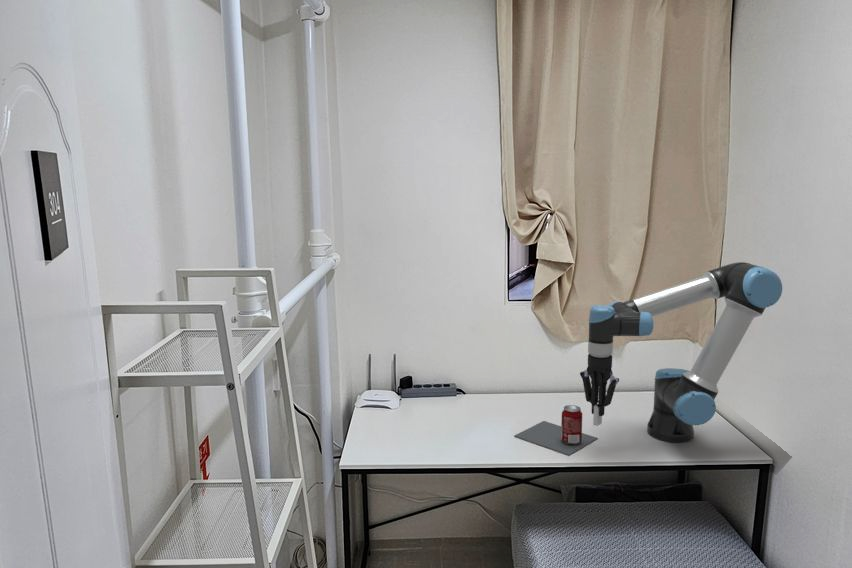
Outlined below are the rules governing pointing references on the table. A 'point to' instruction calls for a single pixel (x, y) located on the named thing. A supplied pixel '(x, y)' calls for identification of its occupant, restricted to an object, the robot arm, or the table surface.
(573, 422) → the soda can
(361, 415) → the table surface
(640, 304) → the robot arm
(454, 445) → the table surface
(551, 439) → the rubber mat
